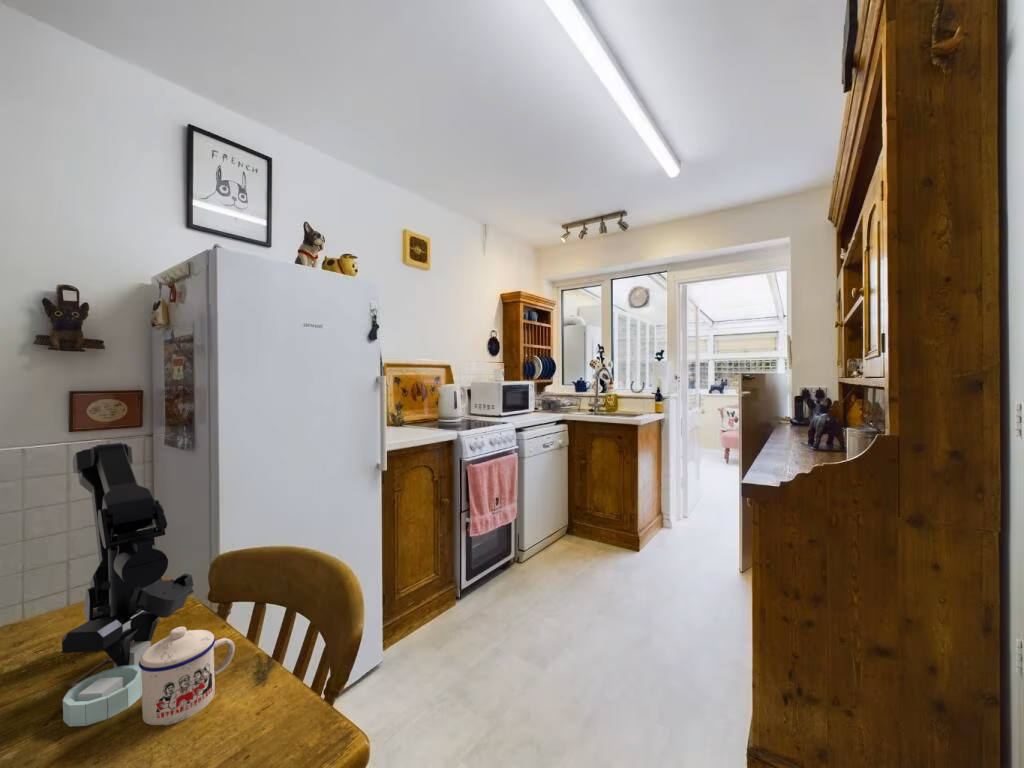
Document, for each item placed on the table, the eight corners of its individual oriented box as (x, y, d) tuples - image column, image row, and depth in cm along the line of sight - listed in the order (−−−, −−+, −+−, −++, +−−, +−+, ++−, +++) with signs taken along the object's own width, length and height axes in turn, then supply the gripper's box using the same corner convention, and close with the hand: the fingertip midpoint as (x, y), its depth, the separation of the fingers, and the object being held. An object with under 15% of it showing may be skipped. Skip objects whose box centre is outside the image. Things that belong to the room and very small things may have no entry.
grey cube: (113, 674, 72) (113, 653, 72) (131, 661, 76) (130, 641, 76) (134, 673, 72) (134, 652, 73) (151, 660, 76) (150, 641, 76)
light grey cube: (78, 717, 63) (78, 694, 63) (100, 700, 66) (99, 678, 66) (102, 716, 63) (102, 692, 63) (123, 699, 66) (122, 677, 66)
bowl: (46, 731, 61) (45, 706, 61) (103, 689, 69) (102, 666, 69) (108, 729, 61) (108, 703, 61) (157, 686, 70) (156, 664, 70)
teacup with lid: (152, 741, 59) (149, 655, 59) (132, 713, 64) (129, 634, 64) (247, 689, 68) (245, 615, 68) (223, 668, 74) (221, 600, 74)
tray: (68, 691, 69) (68, 685, 69) (108, 662, 76) (107, 657, 76) (121, 688, 69) (121, 682, 69) (156, 660, 76) (156, 655, 76)
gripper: (132, 595, 65) (135, 698, 65) (215, 548, 84) (217, 629, 84) (57, 598, 65) (59, 702, 65) (156, 550, 84) (158, 631, 83)
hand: (133, 661), depth 74 cm, fingers closed on grey cube, 3 cm apart
